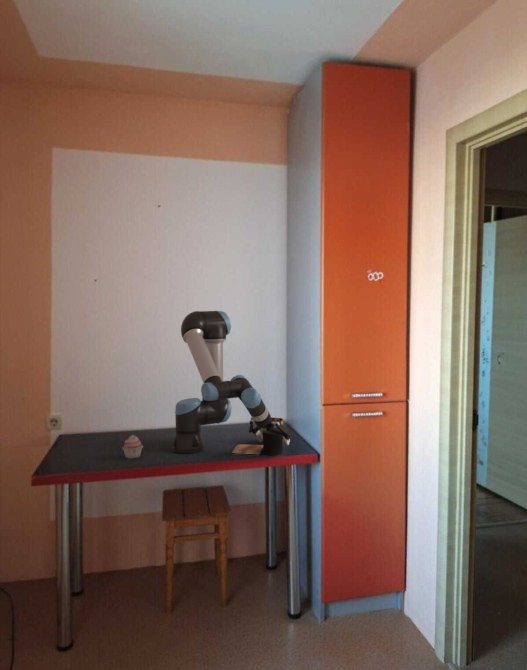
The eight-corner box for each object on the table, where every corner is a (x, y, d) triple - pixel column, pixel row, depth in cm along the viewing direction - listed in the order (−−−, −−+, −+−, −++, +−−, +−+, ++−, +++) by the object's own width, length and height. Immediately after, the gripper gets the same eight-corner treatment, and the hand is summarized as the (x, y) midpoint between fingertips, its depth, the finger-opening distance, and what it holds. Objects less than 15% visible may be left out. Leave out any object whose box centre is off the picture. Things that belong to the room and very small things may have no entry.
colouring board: (232, 454, 228) (232, 451, 228) (238, 446, 240) (237, 443, 240) (259, 455, 226) (259, 452, 226) (263, 447, 238) (263, 444, 238)
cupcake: (126, 461, 219) (126, 438, 218) (119, 456, 226) (118, 434, 226) (147, 457, 224) (146, 435, 224) (138, 452, 232) (138, 431, 231)
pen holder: (281, 456, 224) (281, 434, 224) (260, 455, 226) (260, 433, 226) (284, 450, 234) (284, 428, 233) (264, 449, 236) (264, 428, 235)
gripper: (232, 420, 220) (248, 445, 234) (284, 425, 209) (298, 451, 224) (237, 405, 225) (253, 431, 239) (289, 410, 214) (302, 436, 228)
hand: (274, 441), depth 231 cm, fingers open, 13 cm apart
